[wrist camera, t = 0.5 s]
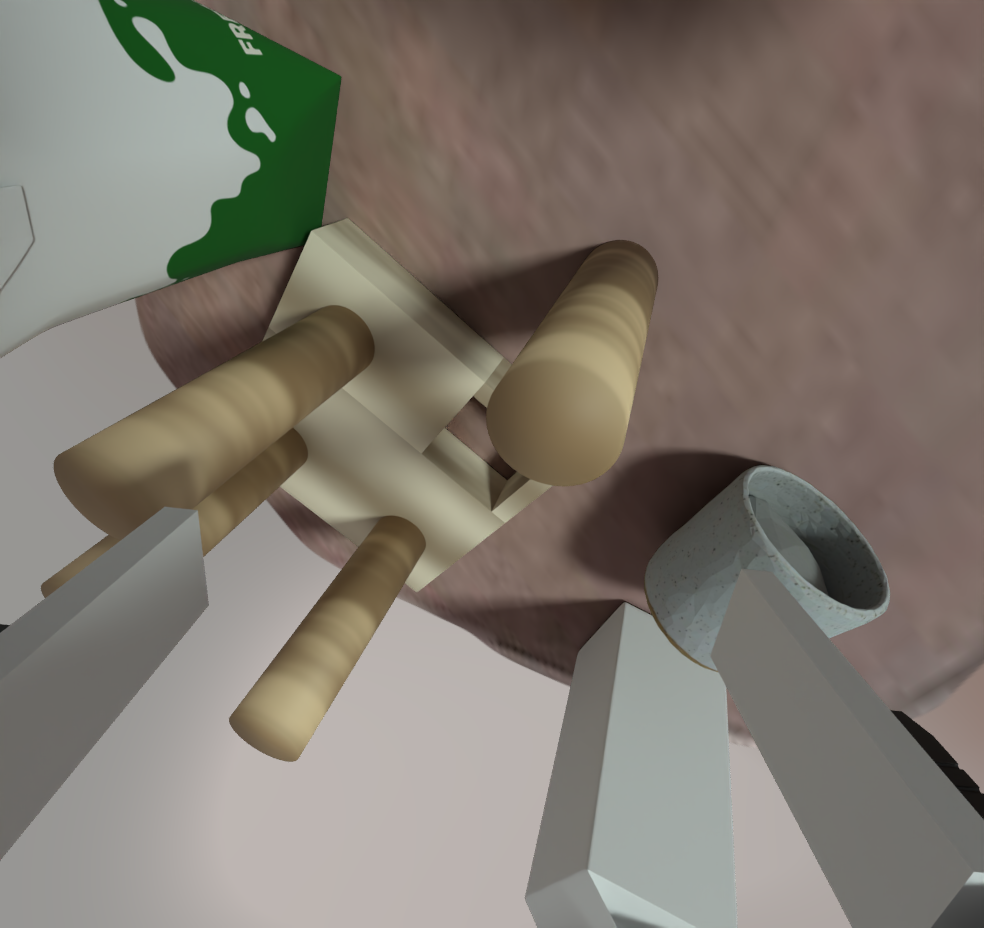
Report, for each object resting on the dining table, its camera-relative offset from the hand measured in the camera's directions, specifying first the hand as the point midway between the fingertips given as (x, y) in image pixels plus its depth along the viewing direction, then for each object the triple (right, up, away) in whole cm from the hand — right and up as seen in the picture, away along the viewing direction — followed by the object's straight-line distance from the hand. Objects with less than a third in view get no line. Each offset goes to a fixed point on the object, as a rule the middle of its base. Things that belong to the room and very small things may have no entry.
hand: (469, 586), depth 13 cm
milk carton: (+11, -10, +23) cm, 27 cm away
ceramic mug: (+15, -1, +15) cm, 21 cm away
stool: (-5, +5, +18) cm, 20 cm away
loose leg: (+6, +11, +10) cm, 16 cm away
